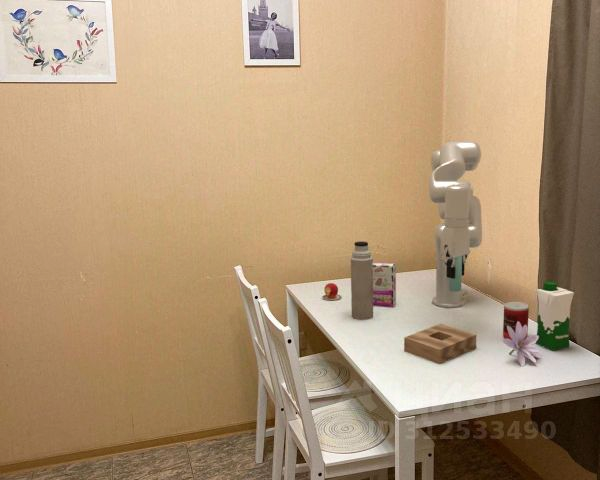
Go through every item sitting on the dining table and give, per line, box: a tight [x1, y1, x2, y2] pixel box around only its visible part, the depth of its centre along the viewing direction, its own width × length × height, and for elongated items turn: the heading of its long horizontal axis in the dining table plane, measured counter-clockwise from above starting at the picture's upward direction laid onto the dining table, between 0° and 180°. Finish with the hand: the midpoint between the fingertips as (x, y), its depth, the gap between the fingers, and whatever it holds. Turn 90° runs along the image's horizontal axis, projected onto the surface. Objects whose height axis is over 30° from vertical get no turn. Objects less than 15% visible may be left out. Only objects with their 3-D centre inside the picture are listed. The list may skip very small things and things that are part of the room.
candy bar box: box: [373, 261, 397, 308], centre depth 242 cm, size 11×5×16 cm, turn 68°
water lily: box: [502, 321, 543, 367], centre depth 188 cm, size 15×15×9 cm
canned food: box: [502, 301, 530, 341], centre depth 204 cm, size 8×8×11 cm
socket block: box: [403, 323, 477, 364], centre depth 197 cm, size 18×14×4 cm
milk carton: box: [535, 281, 575, 352], centre depth 195 cm, size 9×9×20 cm
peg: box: [449, 256, 463, 292], centre depth 207 cm, size 4×4×16 cm
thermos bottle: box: [350, 241, 374, 321], centre depth 228 cm, size 8×8×28 cm
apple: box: [321, 282, 343, 301], centre depth 253 cm, size 8×8×6 cm
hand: (455, 275), depth 207 cm, fingers closed on peg, 4 cm apart
